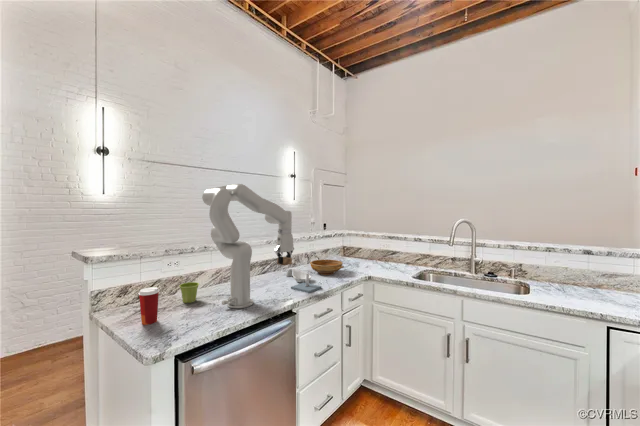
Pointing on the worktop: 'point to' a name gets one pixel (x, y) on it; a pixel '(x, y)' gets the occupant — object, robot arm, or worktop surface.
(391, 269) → the worktop surface
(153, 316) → the paper cup
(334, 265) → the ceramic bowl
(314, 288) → the post board
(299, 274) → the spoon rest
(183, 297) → the plant pot
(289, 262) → the collar
